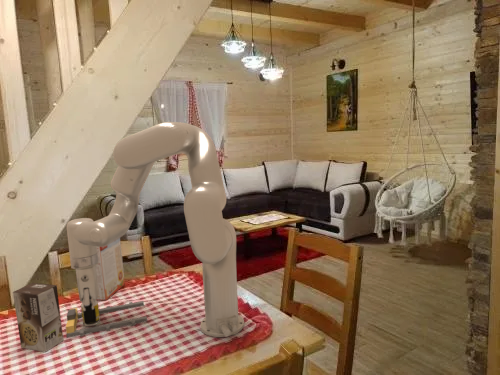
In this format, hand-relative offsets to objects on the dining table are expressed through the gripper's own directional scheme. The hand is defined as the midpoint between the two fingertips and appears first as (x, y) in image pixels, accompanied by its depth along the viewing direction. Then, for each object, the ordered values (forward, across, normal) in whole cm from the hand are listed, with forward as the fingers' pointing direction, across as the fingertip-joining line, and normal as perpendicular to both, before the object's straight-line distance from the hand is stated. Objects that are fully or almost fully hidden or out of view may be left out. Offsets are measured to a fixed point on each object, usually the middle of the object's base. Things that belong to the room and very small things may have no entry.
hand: (91, 317), depth 112 cm
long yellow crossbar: (+2, 0, +5) cm, 5 cm away
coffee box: (+2, -7, +12) cm, 14 cm away
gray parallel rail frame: (+2, 0, -5) cm, 5 cm away
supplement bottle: (+2, 0, 0) cm, 2 cm away
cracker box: (+2, +22, -5) cm, 23 cm away
